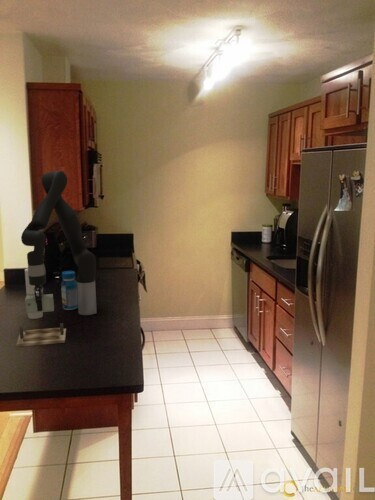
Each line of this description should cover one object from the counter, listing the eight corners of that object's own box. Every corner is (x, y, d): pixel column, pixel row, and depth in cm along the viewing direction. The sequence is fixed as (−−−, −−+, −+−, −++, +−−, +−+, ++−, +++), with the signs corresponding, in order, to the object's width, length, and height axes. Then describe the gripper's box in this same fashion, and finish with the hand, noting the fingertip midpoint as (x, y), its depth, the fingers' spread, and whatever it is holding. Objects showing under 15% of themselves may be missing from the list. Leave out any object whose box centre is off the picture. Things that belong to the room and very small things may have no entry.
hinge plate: (66, 330, 205) (65, 318, 204) (64, 342, 192) (64, 329, 191) (20, 334, 201) (19, 321, 199) (16, 346, 187) (15, 333, 186)
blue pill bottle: (74, 310, 233) (72, 274, 229) (59, 309, 235) (57, 273, 231) (80, 306, 241) (79, 270, 237) (66, 305, 243) (64, 270, 239)
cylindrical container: (27, 319, 220) (24, 271, 215) (28, 314, 227) (25, 267, 222) (42, 318, 222) (39, 270, 217) (43, 313, 229) (40, 267, 224)
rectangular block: (54, 307, 208) (52, 293, 206) (53, 311, 203) (52, 297, 201) (27, 310, 205) (25, 296, 204) (26, 314, 200) (24, 300, 198)
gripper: (44, 276, 195) (48, 313, 198) (46, 269, 208) (49, 303, 212) (26, 278, 193) (30, 315, 196) (29, 270, 206) (33, 305, 210)
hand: (40, 308), depth 204 cm, fingers closed on rectangular block, 4 cm apart
